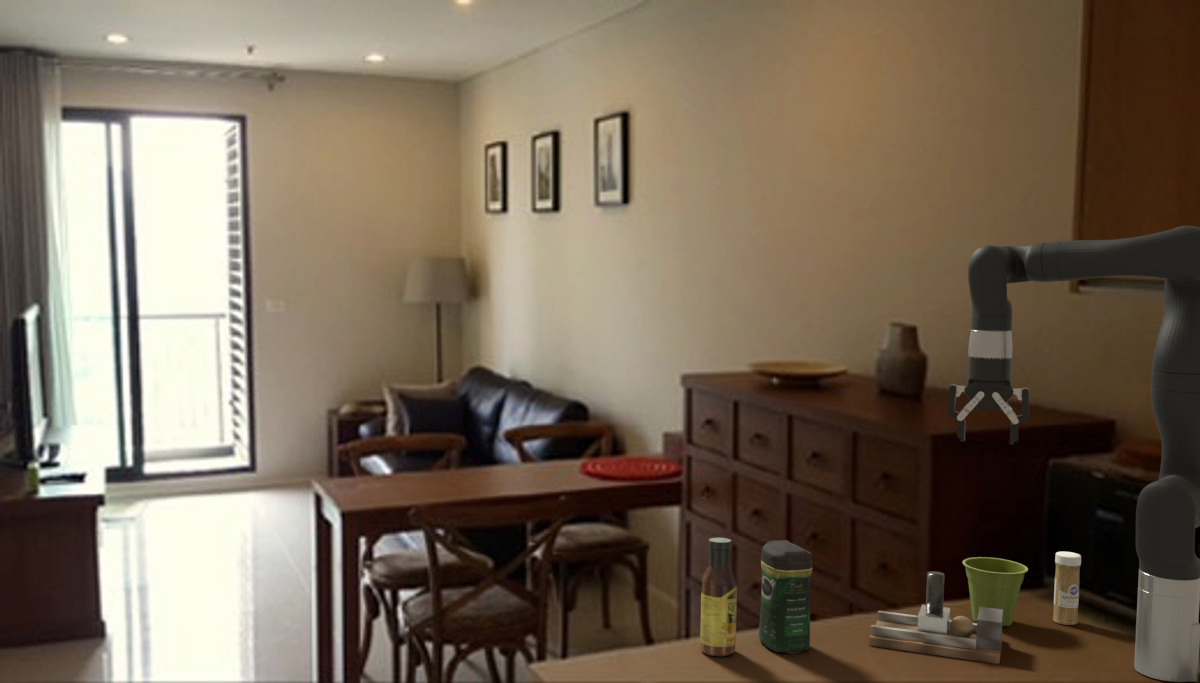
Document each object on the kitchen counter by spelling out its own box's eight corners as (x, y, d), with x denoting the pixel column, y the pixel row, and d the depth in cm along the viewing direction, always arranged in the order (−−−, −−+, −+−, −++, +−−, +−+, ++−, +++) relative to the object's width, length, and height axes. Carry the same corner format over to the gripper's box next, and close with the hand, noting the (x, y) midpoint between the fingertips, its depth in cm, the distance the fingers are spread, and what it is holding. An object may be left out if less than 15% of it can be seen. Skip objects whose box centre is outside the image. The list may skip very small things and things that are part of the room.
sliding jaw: (949, 629, 198) (951, 570, 197) (946, 641, 191) (948, 580, 191) (921, 625, 200) (923, 567, 199) (917, 637, 193) (919, 577, 193)
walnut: (973, 636, 195) (974, 614, 195) (972, 643, 191) (973, 621, 191) (950, 633, 196) (951, 611, 196) (948, 640, 193) (949, 618, 192)
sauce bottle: (734, 659, 185) (737, 546, 184) (697, 656, 187) (700, 543, 185) (737, 646, 192) (739, 536, 190) (702, 643, 193) (704, 534, 192)
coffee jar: (816, 653, 189) (820, 549, 188) (775, 657, 187) (778, 551, 186) (792, 634, 199) (795, 535, 197) (752, 638, 196) (755, 538, 195)
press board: (1001, 640, 197) (1003, 605, 197) (999, 664, 185) (1001, 627, 185) (879, 623, 206) (880, 590, 205) (869, 645, 194) (870, 609, 193)
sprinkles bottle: (1067, 627, 205) (1070, 557, 205) (1047, 620, 209) (1050, 552, 209) (1083, 623, 208) (1086, 555, 207) (1063, 616, 212) (1066, 549, 211)
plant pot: (1035, 633, 202) (1037, 574, 201) (971, 631, 202) (973, 572, 201) (1012, 613, 214) (1015, 557, 213) (952, 611, 214) (954, 555, 213)
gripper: (1031, 355, 198) (1028, 442, 200) (950, 351, 204) (947, 436, 205) (1031, 357, 192) (1028, 448, 193) (947, 354, 197) (944, 442, 198)
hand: (986, 442), depth 199 cm, fingers open, 8 cm apart
